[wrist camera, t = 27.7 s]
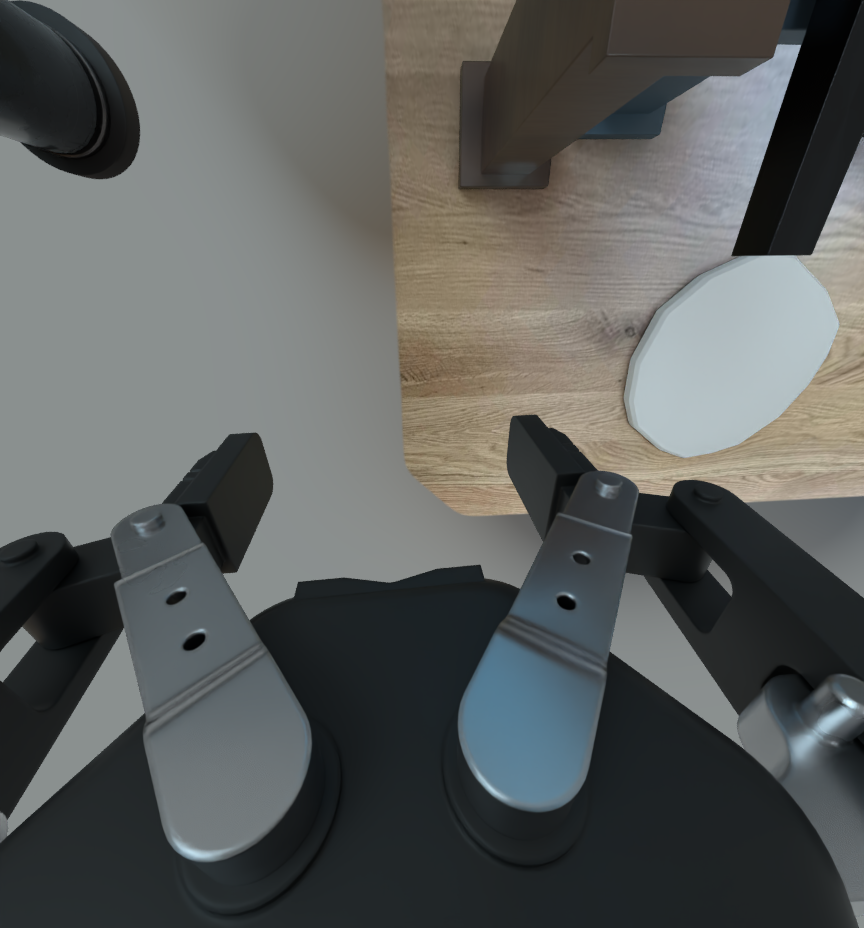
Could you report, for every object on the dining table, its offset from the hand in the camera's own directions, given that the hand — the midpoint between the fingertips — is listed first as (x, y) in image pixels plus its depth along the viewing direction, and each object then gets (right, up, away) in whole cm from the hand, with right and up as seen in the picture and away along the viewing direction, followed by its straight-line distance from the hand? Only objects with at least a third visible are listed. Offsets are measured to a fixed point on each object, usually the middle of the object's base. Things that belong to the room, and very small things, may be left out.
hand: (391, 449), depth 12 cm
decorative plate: (+39, +13, +37) cm, 55 cm away
